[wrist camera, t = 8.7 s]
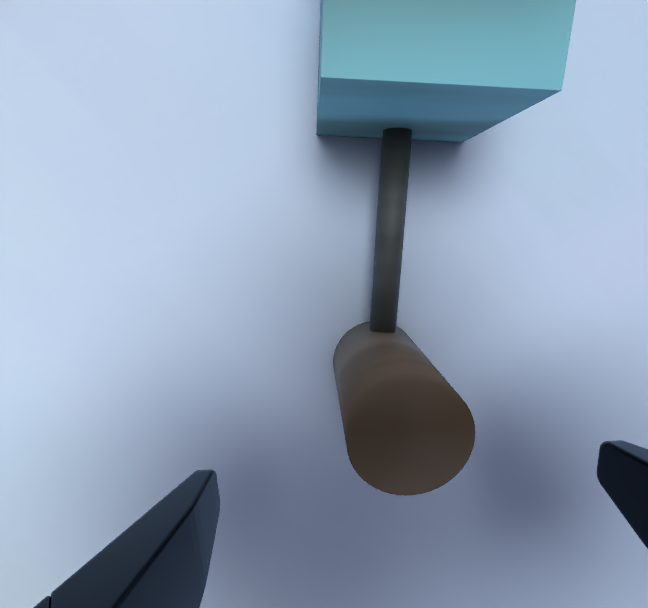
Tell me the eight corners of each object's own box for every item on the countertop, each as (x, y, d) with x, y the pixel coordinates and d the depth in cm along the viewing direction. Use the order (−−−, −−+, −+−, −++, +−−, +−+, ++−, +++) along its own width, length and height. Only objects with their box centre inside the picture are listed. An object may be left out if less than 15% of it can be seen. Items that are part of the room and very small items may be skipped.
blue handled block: (434, 400, 15) (501, 495, 9) (308, 398, 14) (307, 494, 9) (482, -31, 11) (620, -235, 6) (322, -42, 11) (331, -261, 6)
